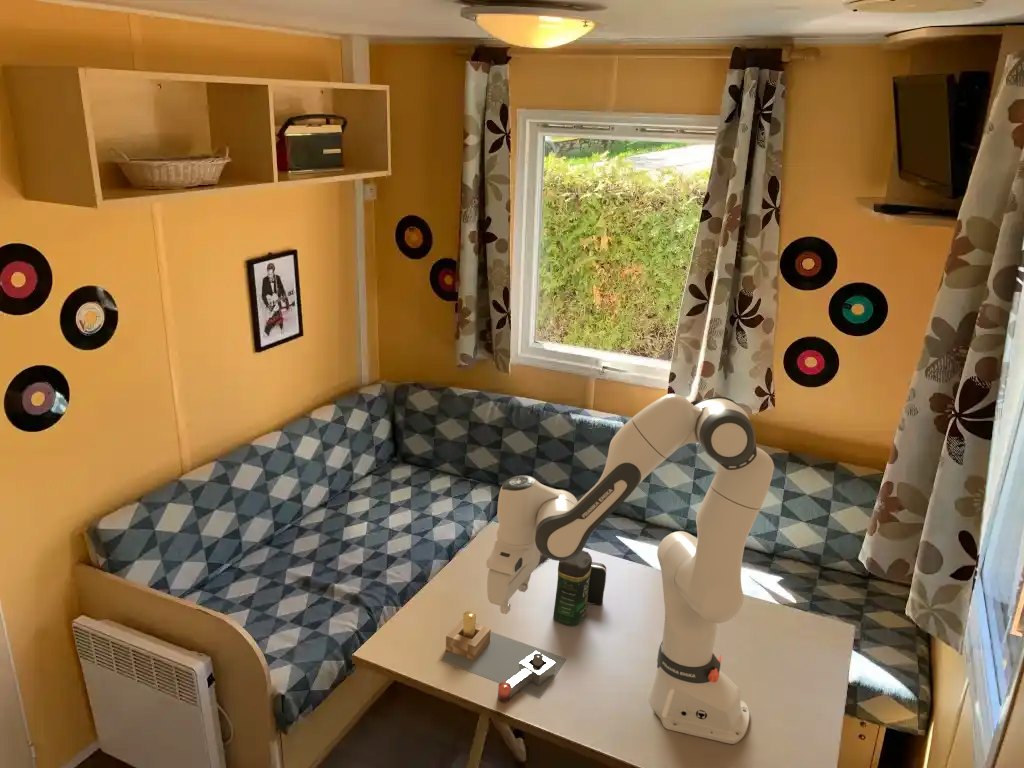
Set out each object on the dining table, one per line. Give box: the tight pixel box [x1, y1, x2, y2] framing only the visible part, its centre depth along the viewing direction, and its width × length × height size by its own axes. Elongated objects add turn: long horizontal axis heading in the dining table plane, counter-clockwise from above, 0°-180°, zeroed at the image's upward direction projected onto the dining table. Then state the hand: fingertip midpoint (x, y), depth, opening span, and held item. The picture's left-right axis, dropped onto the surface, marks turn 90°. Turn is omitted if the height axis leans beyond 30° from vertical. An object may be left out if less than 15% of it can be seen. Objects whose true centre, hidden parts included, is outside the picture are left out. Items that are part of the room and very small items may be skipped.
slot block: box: [445, 618, 492, 661], centre depth 193 cm, size 8×8×4 cm
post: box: [532, 653, 543, 669], centre depth 184 cm, size 2×2×5 cm
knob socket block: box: [497, 651, 556, 703], centre depth 181 cm, size 16×6×3 cm, turn 139°
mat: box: [440, 631, 568, 699], centre depth 189 cm, size 26×16×1 cm, turn 64°
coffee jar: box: [553, 549, 593, 627], centre depth 205 cm, size 10×8×19 cm
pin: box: [462, 610, 477, 639], centre depth 192 cm, size 3×3×9 cm
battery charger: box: [587, 561, 607, 606], centre depth 214 cm, size 7×4×11 cm, turn 79°
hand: (514, 600), depth 177 cm, fingers open, 8 cm apart
